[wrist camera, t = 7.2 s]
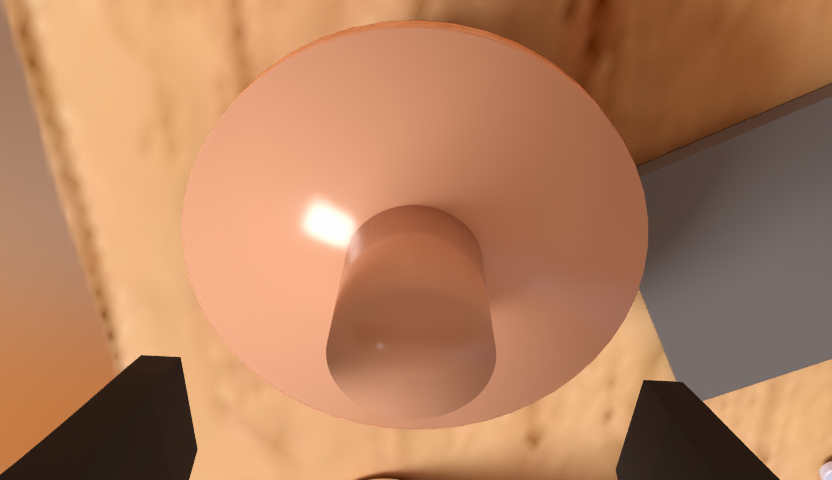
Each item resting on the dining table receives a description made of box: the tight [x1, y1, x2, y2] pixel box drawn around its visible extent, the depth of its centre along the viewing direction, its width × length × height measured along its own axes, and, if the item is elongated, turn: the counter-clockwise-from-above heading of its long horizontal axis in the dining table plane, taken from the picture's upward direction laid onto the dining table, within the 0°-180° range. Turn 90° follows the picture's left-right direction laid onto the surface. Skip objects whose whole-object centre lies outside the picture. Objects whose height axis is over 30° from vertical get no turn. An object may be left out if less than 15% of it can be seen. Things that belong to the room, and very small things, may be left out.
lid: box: [182, 20, 648, 429], centre depth 13 cm, size 10×10×4 cm
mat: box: [636, 84, 832, 401], centre depth 18 cm, size 9×9×1 cm
